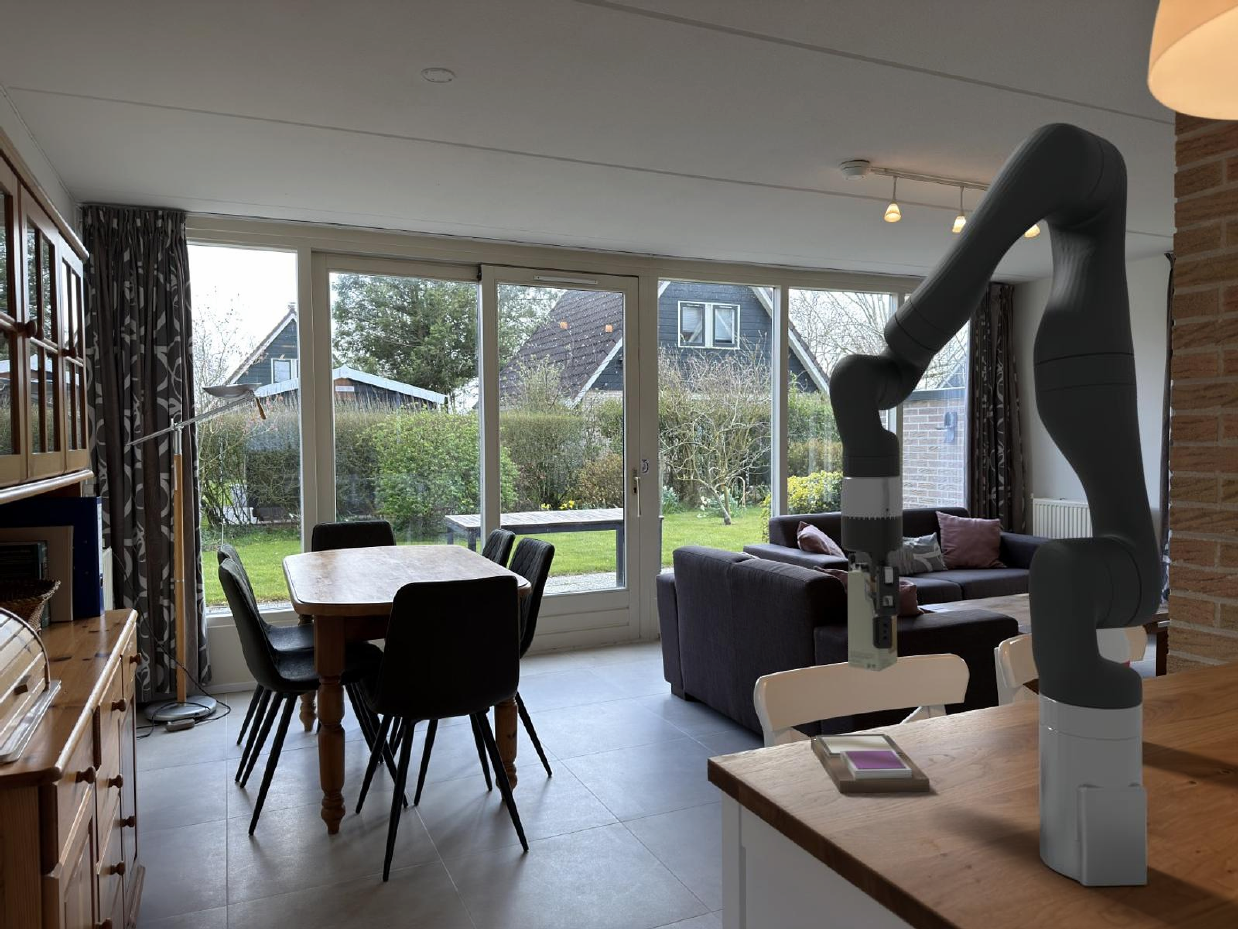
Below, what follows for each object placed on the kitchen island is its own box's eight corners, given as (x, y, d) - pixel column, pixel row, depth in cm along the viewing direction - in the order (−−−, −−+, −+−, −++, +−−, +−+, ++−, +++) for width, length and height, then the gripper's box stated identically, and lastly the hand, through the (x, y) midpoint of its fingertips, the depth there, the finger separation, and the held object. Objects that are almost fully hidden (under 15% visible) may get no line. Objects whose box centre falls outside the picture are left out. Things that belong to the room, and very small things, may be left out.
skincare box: (880, 673, 107) (879, 574, 107) (847, 668, 110) (845, 571, 110) (899, 662, 112) (898, 567, 112) (866, 658, 115) (865, 565, 115)
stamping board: (929, 791, 107) (929, 770, 107) (840, 793, 107) (839, 772, 107) (888, 745, 123) (888, 727, 123) (810, 747, 123) (810, 729, 123)
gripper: (920, 516, 104) (922, 653, 104) (883, 507, 118) (884, 628, 118) (857, 517, 104) (859, 655, 104) (828, 508, 118) (829, 629, 118)
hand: (873, 640), depth 111 cm, fingers closed on skincare box, 7 cm apart
